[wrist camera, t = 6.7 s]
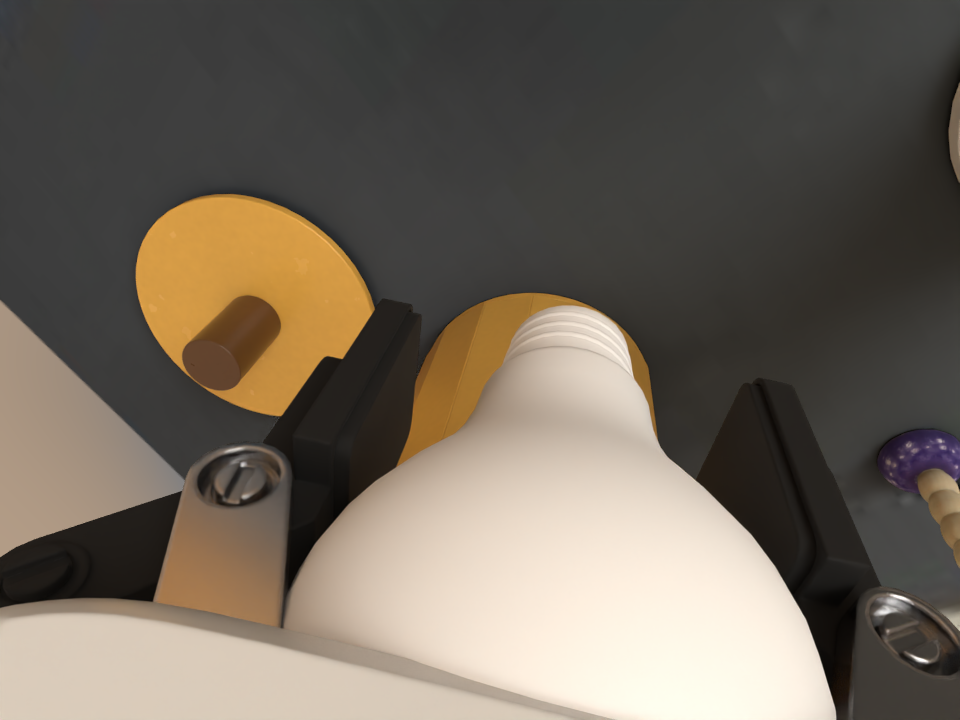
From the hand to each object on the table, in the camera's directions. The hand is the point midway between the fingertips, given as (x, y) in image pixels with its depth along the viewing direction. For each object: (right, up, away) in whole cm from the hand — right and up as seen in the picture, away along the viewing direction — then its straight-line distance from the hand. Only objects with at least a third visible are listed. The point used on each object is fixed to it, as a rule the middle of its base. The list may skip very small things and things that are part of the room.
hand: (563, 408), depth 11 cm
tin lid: (-15, +4, +25) cm, 29 cm away
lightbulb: (0, +2, +2) cm, 3 cm away
